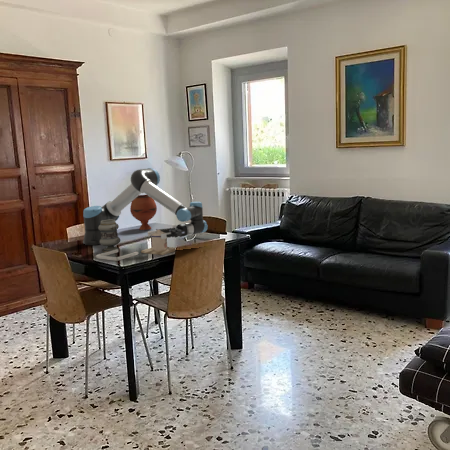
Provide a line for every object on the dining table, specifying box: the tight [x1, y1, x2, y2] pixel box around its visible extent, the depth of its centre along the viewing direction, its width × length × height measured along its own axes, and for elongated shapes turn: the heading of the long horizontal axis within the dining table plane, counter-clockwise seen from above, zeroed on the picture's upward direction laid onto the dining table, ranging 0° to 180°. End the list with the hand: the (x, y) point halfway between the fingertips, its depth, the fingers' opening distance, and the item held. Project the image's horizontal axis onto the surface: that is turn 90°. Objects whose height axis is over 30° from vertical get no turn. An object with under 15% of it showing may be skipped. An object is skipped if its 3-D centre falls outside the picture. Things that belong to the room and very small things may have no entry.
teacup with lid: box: [150, 230, 168, 251], centre depth 279 cm, size 12×9×12 cm
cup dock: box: [95, 249, 139, 262], centre depth 274 cm, size 23×16×2 cm
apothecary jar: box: [98, 220, 121, 253], centre depth 288 cm, size 12×12×18 cm
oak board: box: [140, 246, 176, 256], centre depth 280 cm, size 16×14×1 cm
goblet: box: [129, 194, 158, 231], centre depth 358 cm, size 19×19×25 cm
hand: (154, 235), depth 276 cm, fingers open, 13 cm apart
